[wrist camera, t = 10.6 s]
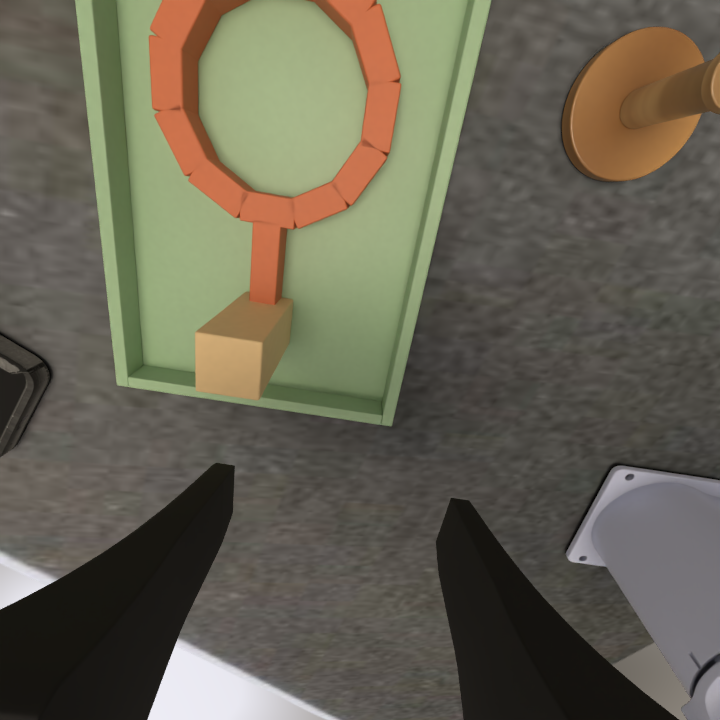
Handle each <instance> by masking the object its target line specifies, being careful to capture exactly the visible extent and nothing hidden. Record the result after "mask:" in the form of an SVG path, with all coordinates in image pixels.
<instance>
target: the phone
mask: <svg viewBox="0 0 720 720" xmlns="http://www.w3.org/2000/svg"><path fill="white" fill-rule="evenodd" d="M49 379H50V375H49V371H48V369H47V366H46V365H45V364H44V363H43V361H42V360H41V359H39V358H38V357H37V356H35V355H33V354H32V353H30V352H28V351H27V350H25V349H23V348H22V347H20V346H18V345H17V344H15V343H13V342H11V341H10V340H8V339H6V338H5V337H3V336H1V335H0V457H1V456H3V455H4V454H6V453H7V452H8V451H10V450H11V449H13V448H14V447H15V446H16V445H17V443H18V441H19V439H20V437H21V435H22V433H23V431H24V429H25V427H26V425H27V423H28V421H29V419H30V418H31V416H32V414H33V412H34V410H35V408H36V406H37V404H38V402H39V400H40V398H41V396H42V394H43V392H44V390H45V388H46V386H47V385H48V383H49Z"/></svg>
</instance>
